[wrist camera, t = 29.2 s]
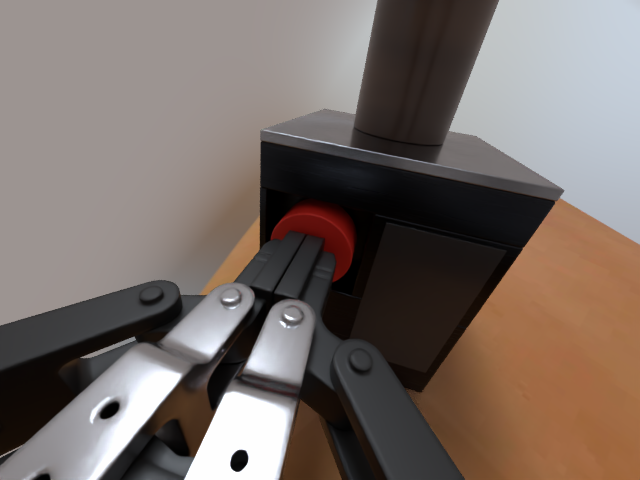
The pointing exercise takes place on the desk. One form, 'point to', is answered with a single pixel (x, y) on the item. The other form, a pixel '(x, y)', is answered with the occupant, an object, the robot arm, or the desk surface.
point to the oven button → (322, 229)
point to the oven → (406, 229)
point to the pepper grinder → (419, 67)
